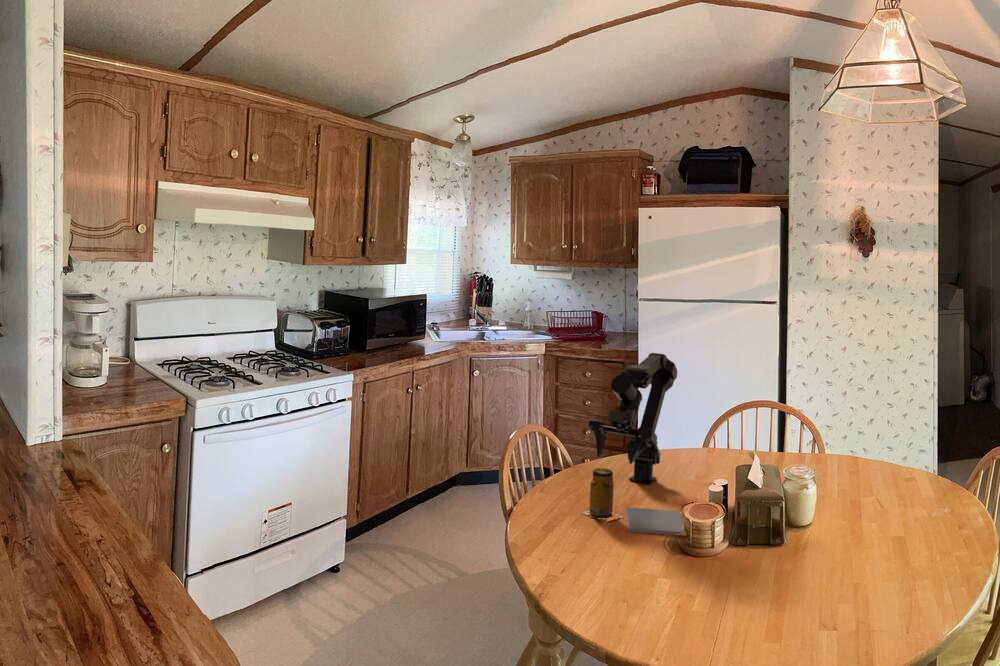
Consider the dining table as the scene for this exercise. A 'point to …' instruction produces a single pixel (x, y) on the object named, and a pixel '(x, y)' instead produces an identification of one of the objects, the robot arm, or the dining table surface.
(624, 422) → the robot arm
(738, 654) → the dining table surface
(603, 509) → the condiment
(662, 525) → the slate tile
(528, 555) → the dining table surface
